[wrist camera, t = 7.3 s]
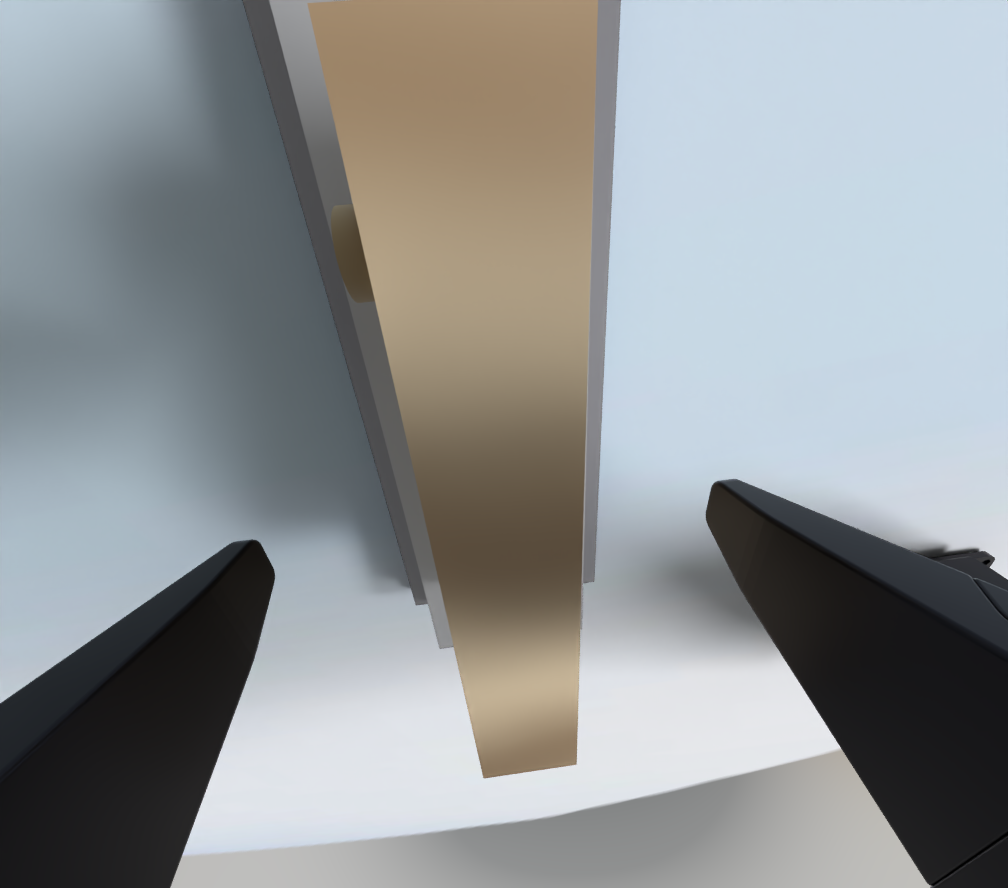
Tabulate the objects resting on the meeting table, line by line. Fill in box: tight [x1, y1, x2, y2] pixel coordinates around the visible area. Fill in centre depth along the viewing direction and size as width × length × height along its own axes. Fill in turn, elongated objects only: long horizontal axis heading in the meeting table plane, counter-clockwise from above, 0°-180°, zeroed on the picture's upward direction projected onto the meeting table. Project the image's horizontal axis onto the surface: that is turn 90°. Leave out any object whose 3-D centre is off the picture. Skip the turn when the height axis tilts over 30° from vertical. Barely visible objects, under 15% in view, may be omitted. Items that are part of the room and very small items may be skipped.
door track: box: [243, 0, 621, 649], centre depth 14 cm, size 22×9×4 cm, turn 5°
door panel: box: [307, 0, 598, 778], centre depth 11 cm, size 14×3×9 cm, turn 4°
